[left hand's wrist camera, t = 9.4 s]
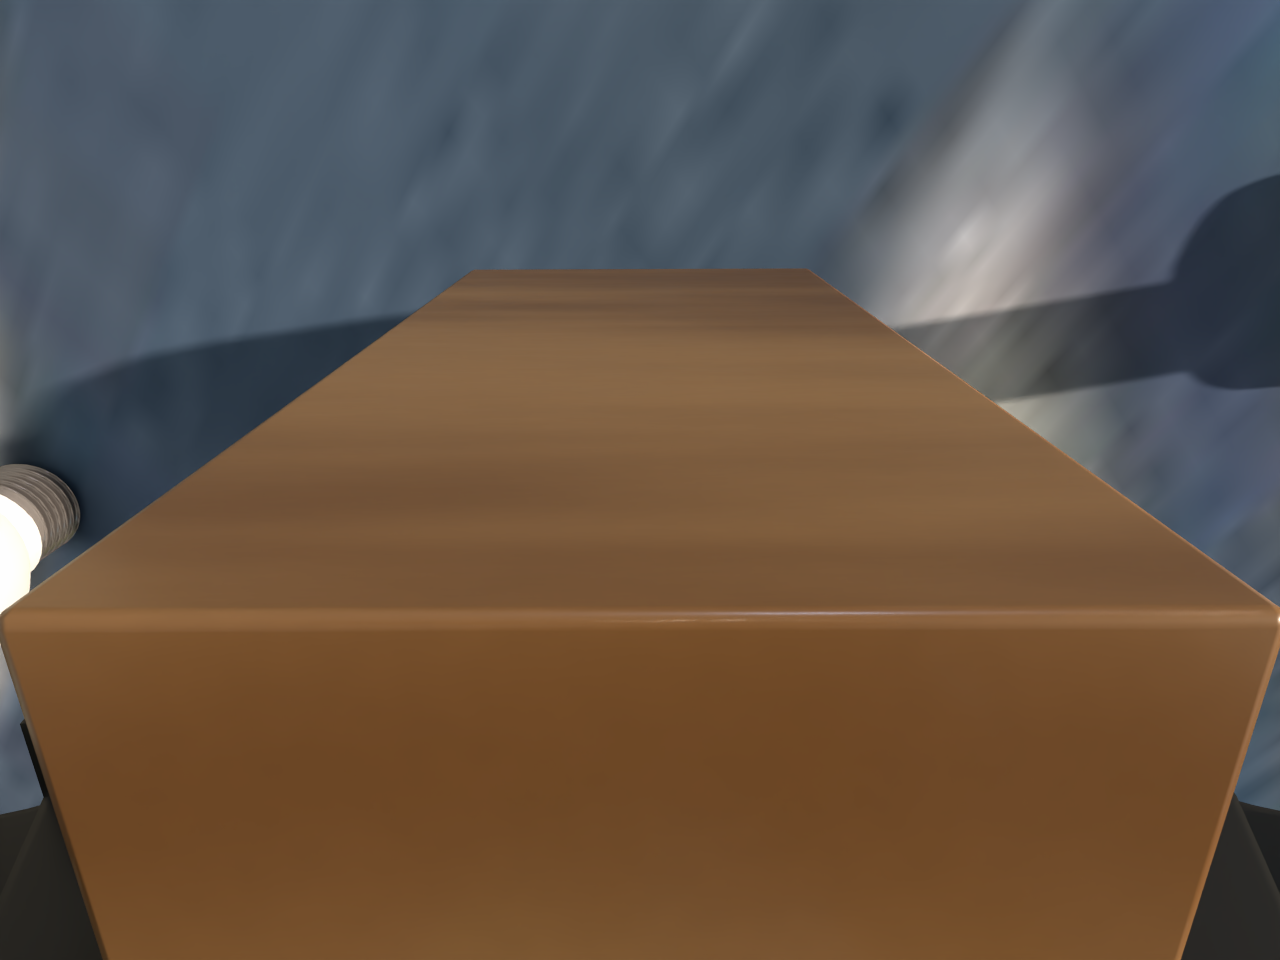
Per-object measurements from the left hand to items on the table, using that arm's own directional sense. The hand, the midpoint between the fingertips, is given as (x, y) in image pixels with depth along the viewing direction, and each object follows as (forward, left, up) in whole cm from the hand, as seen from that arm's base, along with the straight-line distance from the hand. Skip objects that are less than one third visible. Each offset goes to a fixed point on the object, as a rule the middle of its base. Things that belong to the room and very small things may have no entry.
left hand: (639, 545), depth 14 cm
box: (+8, +5, -3) cm, 10 cm away
